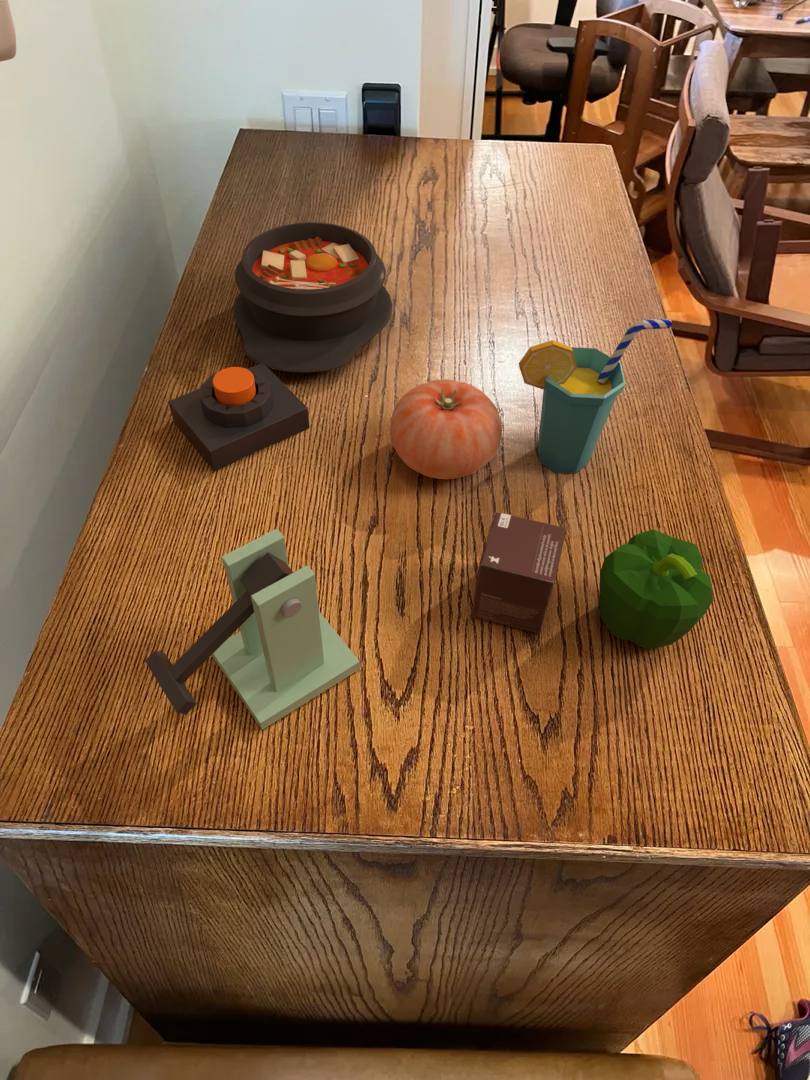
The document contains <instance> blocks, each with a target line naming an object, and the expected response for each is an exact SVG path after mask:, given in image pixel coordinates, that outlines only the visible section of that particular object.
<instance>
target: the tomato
mask: <svg viewBox="0 0 810 1080" xmlns="http://www.w3.org/2000/svg"><path fill="white" fill-rule="evenodd" d="M502 431H503V430H502V421H501V417H500V414H499V410H498V408H497V406H496V405H495V403H494V402H493V401H492V400H491V399H490V398H489V397H488V395H487V394H485V392H484V391H482V390H481V389H479V388H478V387H476V386H474V385H473V384H470V383H468V382H462V381H457V380H454V379H434V380H433V379H432V380H430V381H428V382H425V383H424V382H423V383H421V384H418V385H416V386H414V387H412V388H411V389H410V390H408V391H407V392H406V393H405V394H404V395H403V396H402V397H401V398H400V399H399V400H398V402H397V403H396V405H395V407H394V408H393V412H392V414H391V417H390V425H389V435H390V440H391V443H392V447H393V448H394V451H395V452H396V453H397V455H398V456H399V458H400V459H401V461H402V462H403V463H404V464H405V465H406V466H407V467H409V468H410V469H411V470H413V471H415V472H416V473H419V474H421V475H423V476H426V477H429V478H432V479H439V480H454V479H455V480H456V479H460V478H464V477H468V476H470V475H472V474H474V473H476V472H478V471H481V469H482V468H484V467H485V466H487V464H488V463H489V462H491V460H492V459H493V457H494V456H495V454H496V453H497V451H498V449H499V447H500V444H501V439H502Z"/></svg>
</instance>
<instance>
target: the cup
mask: <svg viewBox="0 0 810 1080" xmlns="http://www.w3.org/2000/svg"><path fill="white" fill-rule="evenodd" d="M672 325H673V321H672V319H670V318H653V319H652V318H651V319H645V318H644V319H641V318H640V319H639V320H637V321H636V322H635V323H633V324H632V325H631V326H630V327H629V328H628V329H627V330H626V332H625V333H624V335H623V337H622V338H621V340H620V342H619V343H618V344H617V346H616V347H615V349H614V351H613V353H612V354H611V356H609V355H608V354H606V353H604V352H602V351H601V350H600V349H597V348H593V347H574V346H571V345H567V344H565V343H562V342H559V341H557V340H554V339H551V340H549V341H548V340H547V341H544V342H541V343H539V344H535V345H532V346H529V348H528V349H527V351H526V352H525V354H524V355H523V356H522V358H521V359H520V361H519V362H518V368H519V370H520V374H521V377H522V380H523V383H524V384H525V385H528V386H532V387H534V388H537V389H540V390H542V391H543V392H542V399H541V400H542V402H541V410H540V411H541V412H540V419H539V420H540V422H539V431H538V433H539V434H538V442H537V454H538V462H539V463H541V464H542V465H543V466H545V467H546V468H547V469H549V470H550V471H552V473H559V474H560V473H562V474H576V473H577V472H579V471H581V470H582V469H583V468H585V467H586V466H587V465H589V463H590V461H591V458H592V456H593V454H594V451H595V449H596V446H597V444H598V442H599V439H600V436H601V434H602V432H603V430H604V427H605V425H606V423H607V420H608V418H609V417H610V413H611V412H612V410H613V407H614V405H615V402H616V400H617V397H618V396H619V395H620V394H622V393H623V391H624V389H625V387H626V381H625V379H626V378H625V375H624V370H623V366H622V363H621V362H620V360H621V359H622V357H623V356H624V354H625V353H626V351H627V349H628V348H629V346H630V344H631V343H632V342H633V340H634V338H635V337H636V335H637V334H638V333H639V332H641V331H644V330H662V329H663V330H664V329H665V330H666V329H670V328H671V327H672Z"/></svg>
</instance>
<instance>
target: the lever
mask: <svg viewBox="0 0 810 1080" xmlns="http://www.w3.org/2000/svg"><path fill="white" fill-rule="evenodd" d="M294 572H295V571H294V570H292V568H291V567H290V566H289V564H288V565H287V564H286V562H284V561H282V560H281V559H279V558H277V557H276V556H274V555H272V554H271V553H269V552H267V553H266V554H265V555H264V556H263V557H262V558H261V559H260V560H259V561H258V562H257V563H256V564H255V565H254V566H253V567H252V568H251V569H250V570H249V571H248V572H247V573H246V574H245V575H244V576H243V577H242V578H241V579H240V581H241V583H242V584H243V585H244V587H245V588H246V589H247V591H246V592H245V593H244V594H243V595H242V596H241V597H240V598H239V599H238V600H237V601H236V602H235V603H234V604H233V603H232V605H231V606H230V607H229V608H228V609H226V611H225V612H223V614H222V615H220V616H219V618H218V619H217V620H216V621H215V622H214V623H213V624H212V625H210V627H208V629H207V630H206V631H205V632H204V633H203V634H202V635H201V636H200V637H199V638H198V639H197V640H196V641H195V642H193V644H192V645H191V646H190V647H189V648H188V649H187V650H186V651H185V652H184V653H183V654H182V655H181V656H180V657H179V658H178V659H177V660H176V661H175V662H174V663H172V662H171V660H170V658H169V657H168V655H167V654H166V652H163V651H159V650H156V649H154V651H153V652H152V653H150V655H149V656H148V657H147V658H145V660H144V662H145V664H146V665H147V667H148V668H149V670H150V671H151V674H152V675H153V677H154V678H155V680H156V682H157V683H158V685H159V687H160V689H161V690H162V692H163V693H164V695H165V696H166V698H167V700H168V701H169V703H170V705H171V706H172V708H173V709H174V711H175V712H176V714H177V713H178V714H180V715H181V714H182V715H188V713H189V712H190V711H192V710H193V708H194V707H195V706H196V705H197V704H198V703H197V701H196V700H195V698H194V696H193V694H192V693H191V692H190V690H189V689H188V687H187V686H186V684H185V683H186V682H187V681H188V680H189V678H191V676H192V675H194V674H195V673H196V672H197V670H199V669H200V667H201V666H202V665H204V663H206V662H207V661H208V659H209V658H210V657H212V654H213V653H214V652H215V651H216V650H217V649H218V648H219V647H220V646H221V645H222V644H223V643H224V642H225V641H226V640H227V639H228V638H229V637H231V636H233V635H234V634H235V632H236V631H237V630H238V629H240V628H239V627H240V626H241V625H242V624H243V623H244V622H245V621H246V620H247V619H248V618H249V617H250V616H251V615H252V614H253V613H254V608H253V604H252V599H251V595H253V594H255V593H257V592H259V591H261V590H262V589H264V588H266V587H268V586H270V585H272V584H273V583H275V582H277V581H279V580H281V579H283V578H285V577H286V576H288V575H290V574H292V573H294Z"/></svg>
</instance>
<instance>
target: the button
mask: <svg viewBox="0 0 810 1080" xmlns="http://www.w3.org/2000/svg"><path fill="white" fill-rule="evenodd" d="M247 369H248V368H244V367H241V366H230V367H225V368H223V369H221V370H219V371H218V372H216V373H215V374H216V375H215V376H214V378H213V386H214V391H215V396H216V399H217V400H218V401H219V402H220V403H222V404H224V405H227V406H233V405H242V404H245V403H247V402H249V401H251V400H252V399H253V398H254V397H255V395H256V387H255V381H254V376H253V374H252V373H251V372H250V371H249V370H247Z"/></svg>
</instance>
